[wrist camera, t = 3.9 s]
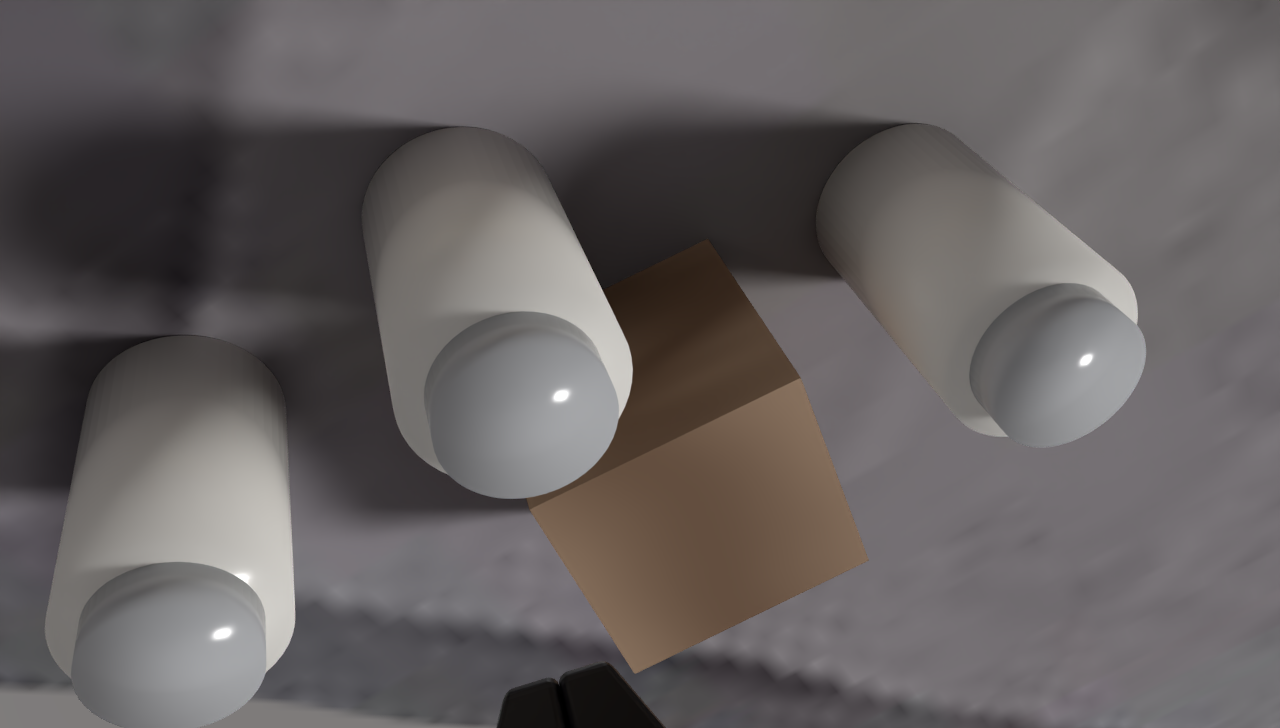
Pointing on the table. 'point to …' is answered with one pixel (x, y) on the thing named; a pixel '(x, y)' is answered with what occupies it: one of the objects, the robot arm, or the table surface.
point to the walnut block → (700, 472)
